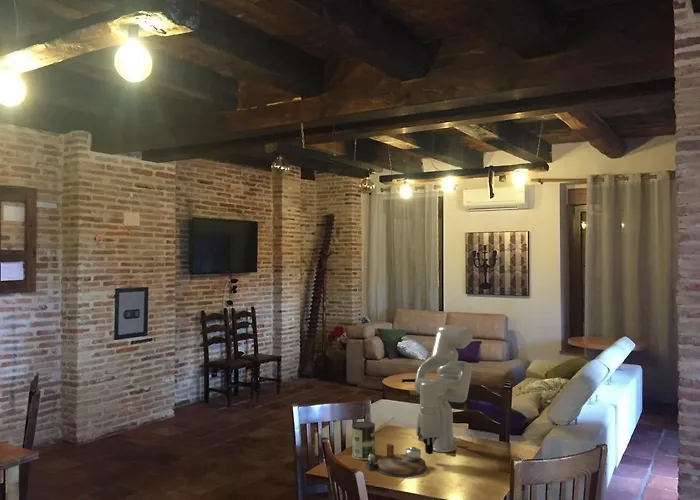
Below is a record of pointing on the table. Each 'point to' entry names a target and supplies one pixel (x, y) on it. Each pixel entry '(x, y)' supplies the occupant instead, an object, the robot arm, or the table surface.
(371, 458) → the small bust figurine
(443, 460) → the table surface
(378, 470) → the turntable base
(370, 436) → the coffee can
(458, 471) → the table surface
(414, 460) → the cover
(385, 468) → the turntable
